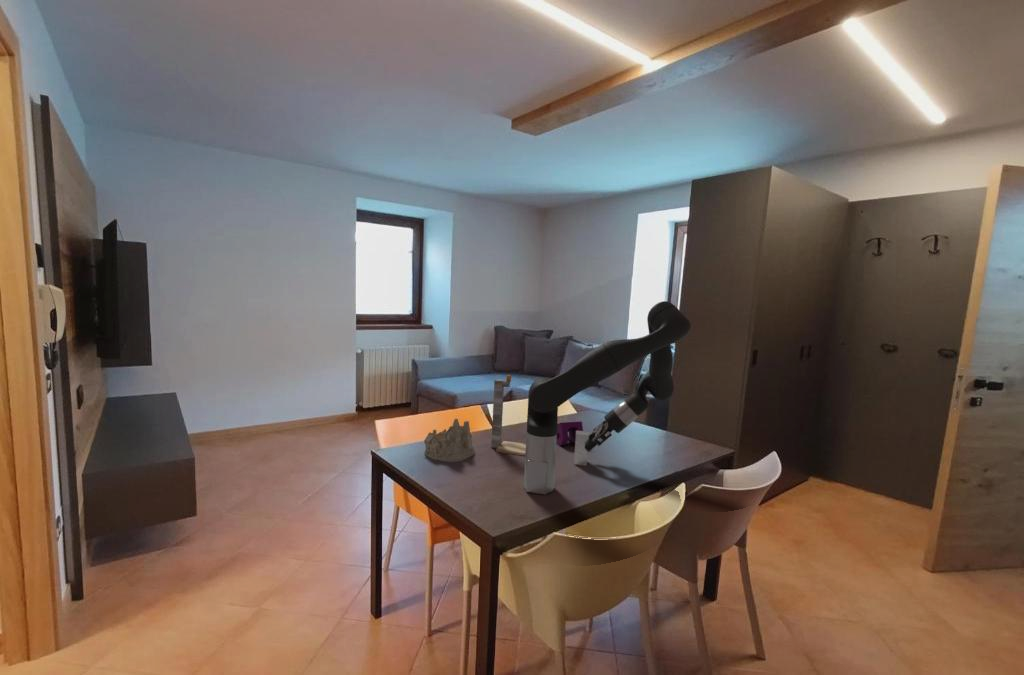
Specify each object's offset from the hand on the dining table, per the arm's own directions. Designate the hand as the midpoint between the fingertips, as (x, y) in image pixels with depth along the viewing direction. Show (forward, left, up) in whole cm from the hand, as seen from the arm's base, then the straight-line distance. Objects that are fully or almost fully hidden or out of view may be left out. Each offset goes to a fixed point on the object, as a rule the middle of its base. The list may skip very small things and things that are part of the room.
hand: (586, 445), depth 156 cm
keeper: (+5, +29, -6) cm, 30 cm away
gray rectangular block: (0, +2, -7) cm, 7 cm away
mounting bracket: (+24, +12, -7) cm, 28 cm away
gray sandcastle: (-9, +48, -7) cm, 49 cm away
